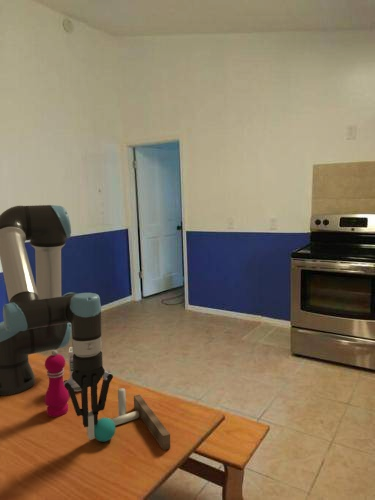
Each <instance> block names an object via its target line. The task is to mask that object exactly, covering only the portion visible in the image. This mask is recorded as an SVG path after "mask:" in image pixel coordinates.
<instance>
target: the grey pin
mask: <svg viewBox="0 0 375 500" xmlns="http://www.w3.org/2000/svg"><path fill="white" fill-rule="evenodd" d="M117 400H118V402H117V403H118V405H117V406H118V407H117V409H118V416H121V415H124V414H127V402H126V401H127V400H126V389H125V387H124V388H123V387H121V388H119V389H117Z"/></svg>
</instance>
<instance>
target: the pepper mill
mask: <svg viewBox="0 0 375 500" xmlns="http://www.w3.org/2000/svg"><path fill="white" fill-rule="evenodd" d="M65 365H66V358H65V357H64V356H63V355H61V354H59V353H58V350H51V355H49V356H47V358H46V359H45V360H44V368H45V370H47V371H46V376H47V378H48V388H47V390H46V393H45V396H44V403H45V405H46V406H47V407H46V413H47V415H48V416H49V417H53V418H55V417H56V418H57V417H62V416H63V415H65V414H67V412H68V411H69V403H68V402H69V400H70V394H69V391H68V390H67V389H66V388H65V386H64V383H63V382H64V375H65V369H64V368H65Z"/></svg>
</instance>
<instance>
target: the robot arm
mask: <svg viewBox="0 0 375 500" xmlns="http://www.w3.org/2000/svg"><path fill="white" fill-rule="evenodd" d="M71 234H72V226H71V220H70V216H69V214H68V212H67V210H66V209H65V207H64V206H61V205H53V204H45V205H44V204H43V205H42V204H39V205H36V204H35V205H15V206H12V207H9V208H7V209H6V210H5V211H3V212H2V213H0V266H1V268H2V274H3V278H4V280H3V281H4V284H5V291H6V293H7V294H6V295H7V299H8V303H5V304H4V305H3V307H2V318H3V321H1V322H0V396H10V395H16V394H19V393H22V392H24V391H27V390H29V389H30V388H32V387H33V386H34V385H35V383H36V376H35V373H34V371H33V368H32V366H31V363H30V361H29V355H32V354H33V355H35V354H38V353H43V352H48V351H53V350H56V351H58V349H62V348H65V347H67V346H68V344H69V343H70V341H71V340H72V341H71V343H72V346H71V347H73V353H74V355H73V373H72V377H71V378H70V377H69V378H68V379H64V380H63V383H64V386H65V388H66V389H67V390H68V393H69V398H70V400H71V402H72V406H73V409H74V411H75V414H76V416H77V417H80V416H81V417H82V425H83V427H84V428H86V435H87V437H88V440H94V439H96V438H95V436H94V425H96V424H97V423H98V420H99V419H98V415H99V412H100V411H104V409H105V407H106V402H107V399H108V398H107V397H108V392H109V388H110V383H111V382H112V380H113V378H114V375H113V373H112V372H110V371H107V370H105V368H104V365H103V363H104V362H103V351H102V350H103V343H102V305H101V297H100V295H99V294H97V293H93V292H81V293H80V292H79V293H76V292H72V291H71V292H67V293H65V294H63V295H62V248H63V247H64V246H65V245H66V240H68V239H70V238H71V236H72V235H71ZM26 241H29V243H30V246H31V247H32V248H34V250H35V253H34V256H35V258H34V259H35V278H34V275H33V271H32V266H31V264H30V260H29V255H28V252H27V248H26V246H25V245H26V244H25V243H26ZM101 380H102V384H101V387H100V392H99V397H98V384H99V383H100V381H101ZM74 381H75V382H76V383H77V384H78V385H79V386H80V387H81V391H80V395H81V396H80V397H81V399H80V400H81V408H80V405H79V401H78V399H77V395H76V392H74V390H73V386H74V383H73V382H74ZM89 388H90V403H91V404H90V407H91V410H89V402H88V401H89V399H88V391H89V390H88V389H89Z"/></svg>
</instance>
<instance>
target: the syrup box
mask: <svg viewBox="0 0 375 500" xmlns="http://www.w3.org/2000/svg"><path fill="white" fill-rule="evenodd" d="M73 355H74V353H73V347H72V346H69V349H68V368H69V369H68V370H69V371H68V372H69V379H70V378H71V377H72V373H73ZM73 383H74V386H73V390H74V392H75V393H77V392H81V387H80V386H79V385H78V384H77V383H76V382H75V381H74V382H73Z"/></svg>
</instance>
